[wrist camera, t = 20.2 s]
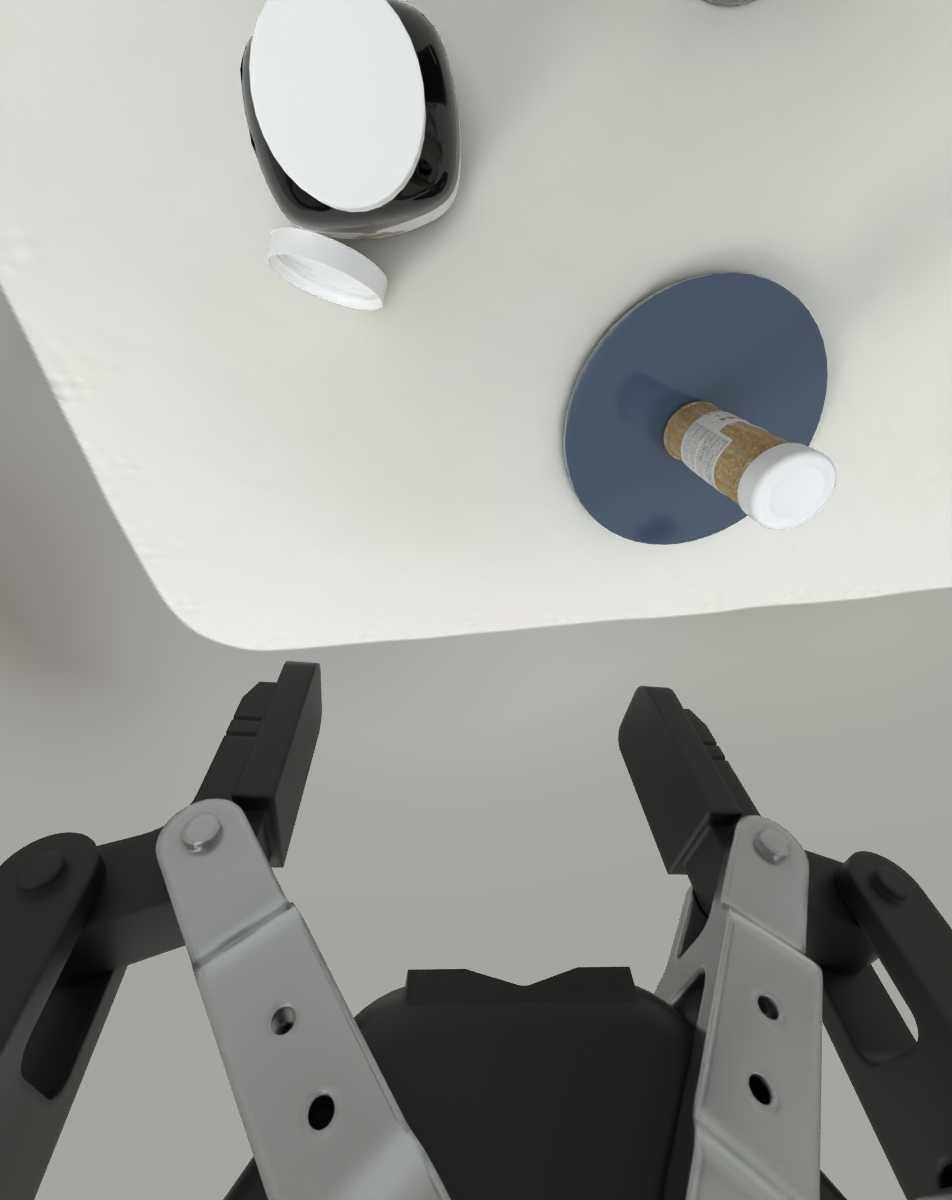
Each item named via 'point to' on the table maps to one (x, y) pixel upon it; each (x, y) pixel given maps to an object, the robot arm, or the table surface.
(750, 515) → the sprinkles bottle
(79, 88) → the table surface
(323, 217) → the spread jar
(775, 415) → the plate
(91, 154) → the table surface
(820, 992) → the robot arm
